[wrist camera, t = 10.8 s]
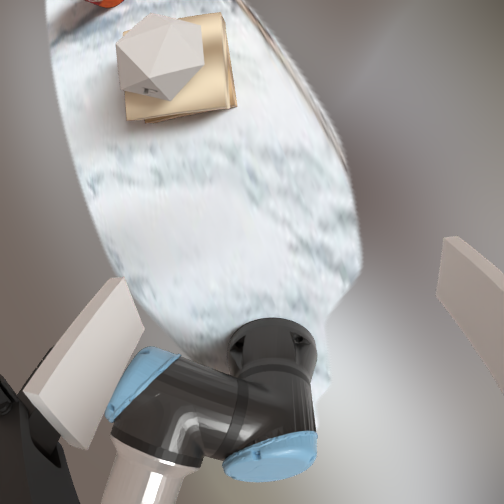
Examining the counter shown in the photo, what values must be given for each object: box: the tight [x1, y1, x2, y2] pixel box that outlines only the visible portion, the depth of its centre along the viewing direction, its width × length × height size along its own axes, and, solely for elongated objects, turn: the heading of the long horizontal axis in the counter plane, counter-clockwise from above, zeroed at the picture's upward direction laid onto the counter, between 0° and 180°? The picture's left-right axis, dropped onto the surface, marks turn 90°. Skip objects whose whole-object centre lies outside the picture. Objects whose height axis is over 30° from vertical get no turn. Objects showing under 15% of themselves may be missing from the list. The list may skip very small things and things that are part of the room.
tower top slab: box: [123, 12, 230, 121], centre depth 28 cm, size 11×11×4 cm
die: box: [116, 13, 205, 101], centre depth 22 cm, size 8×9×10 cm
